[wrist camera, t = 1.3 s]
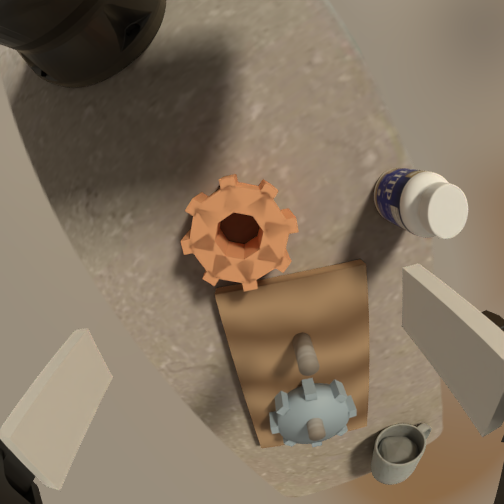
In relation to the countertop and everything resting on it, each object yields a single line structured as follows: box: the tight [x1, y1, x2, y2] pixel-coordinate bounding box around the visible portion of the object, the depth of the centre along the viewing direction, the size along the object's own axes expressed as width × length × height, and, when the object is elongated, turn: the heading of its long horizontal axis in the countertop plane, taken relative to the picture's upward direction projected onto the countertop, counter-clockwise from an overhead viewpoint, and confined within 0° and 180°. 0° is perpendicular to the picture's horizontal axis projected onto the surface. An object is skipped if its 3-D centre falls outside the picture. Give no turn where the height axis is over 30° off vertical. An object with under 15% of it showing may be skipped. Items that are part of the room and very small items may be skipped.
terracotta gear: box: [181, 174, 298, 291], centre depth 25 cm, size 9×9×4 cm
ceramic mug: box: [371, 423, 431, 485], centre depth 33 cm, size 11×8×8 cm
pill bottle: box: [374, 168, 468, 239], centre depth 22 cm, size 5×5×9 cm
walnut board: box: [215, 259, 369, 448], centre depth 29 cm, size 23×14×6 cm, turn 11°
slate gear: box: [269, 378, 357, 447], centre depth 31 cm, size 10×10×2 cm
